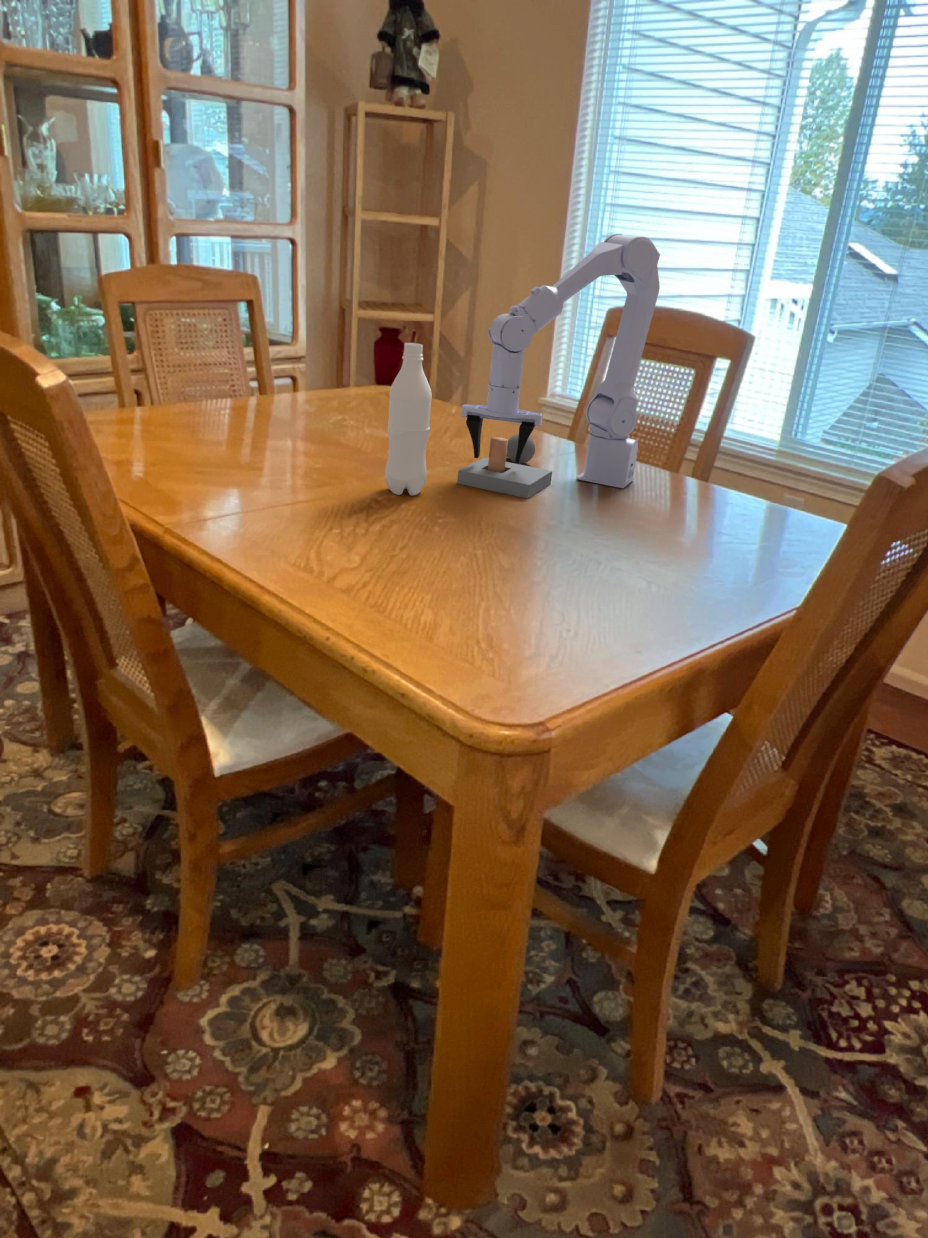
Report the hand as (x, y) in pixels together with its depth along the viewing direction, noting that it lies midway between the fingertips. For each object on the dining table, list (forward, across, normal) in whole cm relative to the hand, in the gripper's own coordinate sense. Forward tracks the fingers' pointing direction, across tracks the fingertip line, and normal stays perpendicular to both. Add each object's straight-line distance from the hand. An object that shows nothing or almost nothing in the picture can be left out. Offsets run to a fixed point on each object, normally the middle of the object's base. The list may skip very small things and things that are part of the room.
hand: (497, 459), depth 165 cm
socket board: (+4, -2, 0) cm, 5 cm away
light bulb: (+3, +2, -21) cm, 21 cm away
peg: (+4, 0, 0) cm, 4 cm away
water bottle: (+4, +14, +14) cm, 20 cm away
